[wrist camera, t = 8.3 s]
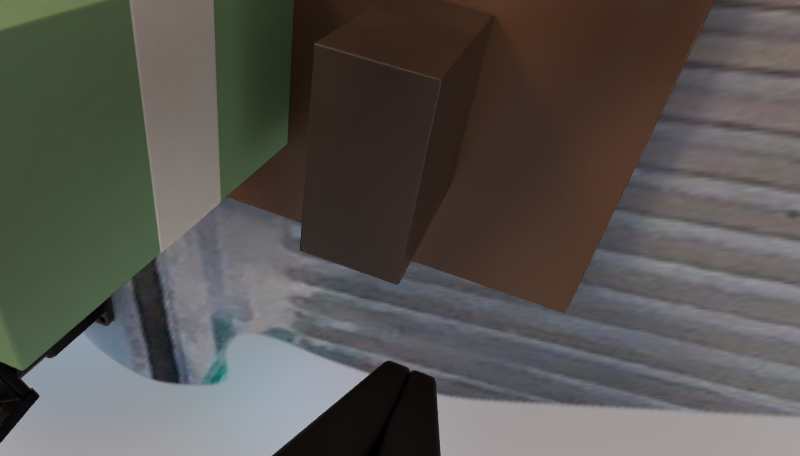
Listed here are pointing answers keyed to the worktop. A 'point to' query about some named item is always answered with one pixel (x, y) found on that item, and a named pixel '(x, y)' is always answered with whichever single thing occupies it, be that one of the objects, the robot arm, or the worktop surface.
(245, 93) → the block
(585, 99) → the walnut board
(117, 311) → the worktop surface
